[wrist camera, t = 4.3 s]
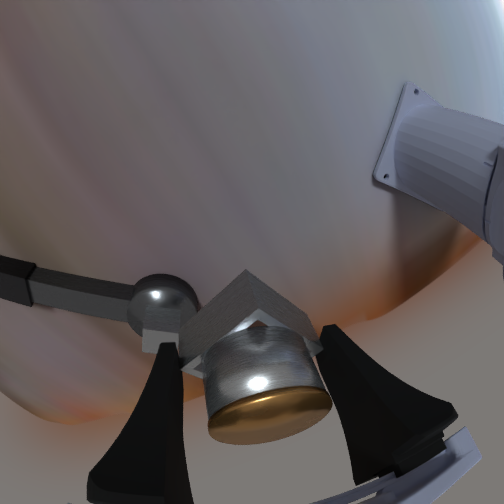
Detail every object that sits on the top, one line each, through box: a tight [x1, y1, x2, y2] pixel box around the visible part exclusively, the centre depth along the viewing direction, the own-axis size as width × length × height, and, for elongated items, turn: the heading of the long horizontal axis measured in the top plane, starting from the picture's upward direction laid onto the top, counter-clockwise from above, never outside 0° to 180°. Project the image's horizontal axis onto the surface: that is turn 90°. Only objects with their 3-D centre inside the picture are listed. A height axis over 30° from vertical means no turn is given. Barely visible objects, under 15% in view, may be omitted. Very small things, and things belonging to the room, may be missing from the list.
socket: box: [178, 269, 333, 445], centre depth 11 cm, size 5×5×6 cm
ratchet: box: [0, 255, 198, 354], centre depth 16 cm, size 22×5×4 cm, turn 73°
